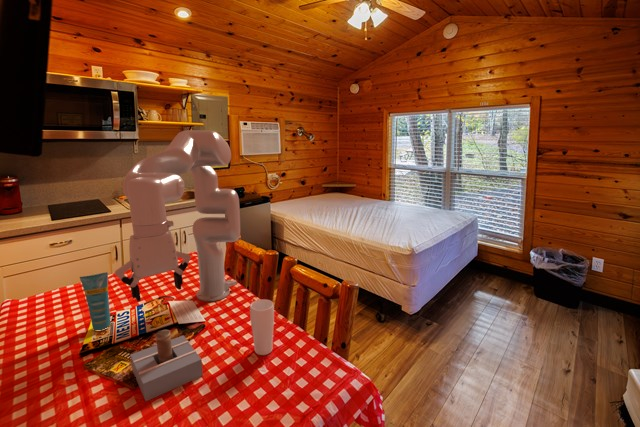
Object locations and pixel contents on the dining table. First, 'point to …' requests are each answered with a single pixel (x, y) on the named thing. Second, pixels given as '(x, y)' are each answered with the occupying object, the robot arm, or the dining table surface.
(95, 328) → the tube
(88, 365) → the dining table surface
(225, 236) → the robot arm
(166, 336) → the walnut peg
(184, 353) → the socket block
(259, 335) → the drinking glass
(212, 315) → the dining table surface
